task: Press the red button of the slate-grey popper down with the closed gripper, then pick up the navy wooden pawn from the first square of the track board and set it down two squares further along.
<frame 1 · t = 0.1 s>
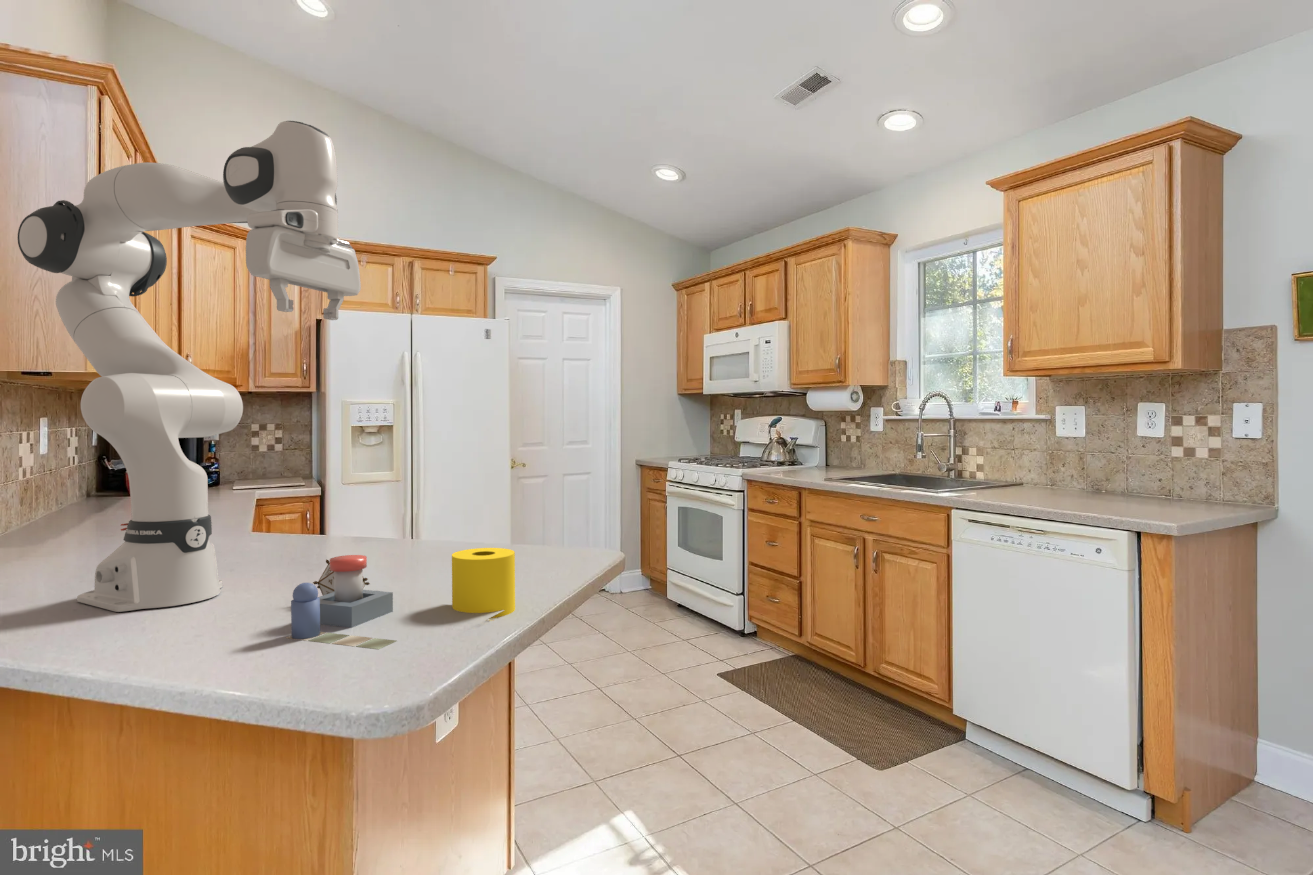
hand: (309, 315, 112), 48 cm above the counter, fingers open, 8 cm apart
plunger: (348, 580, 108), point 7 cm above the counter, slide at 0.0 cm
pawn: (306, 635, 99), point 1 cm above the counter, touching track board
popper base: (349, 622, 108), on the counter
yellow hollow cylinder: (484, 611, 115), on the counter
game die: (342, 607, 118), on the counter
track board: (340, 646, 97), on the counter
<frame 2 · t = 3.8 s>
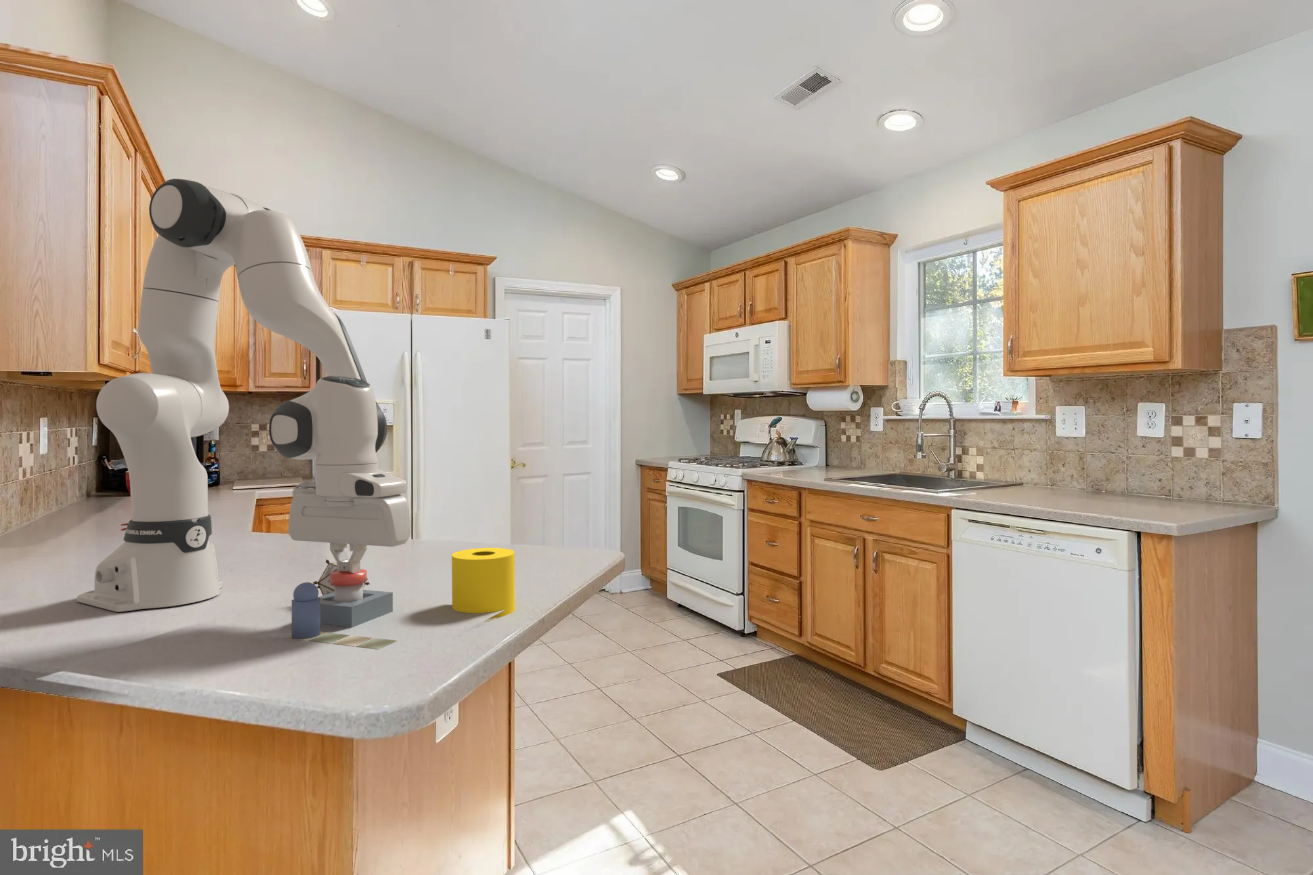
hand: (348, 572, 108), 8 cm above the counter, fingers closed, pressing on plunger
plunger: (348, 595, 108), point 4 cm above the counter, slide at 2.2 cm, touching gripper
everything else where it was.
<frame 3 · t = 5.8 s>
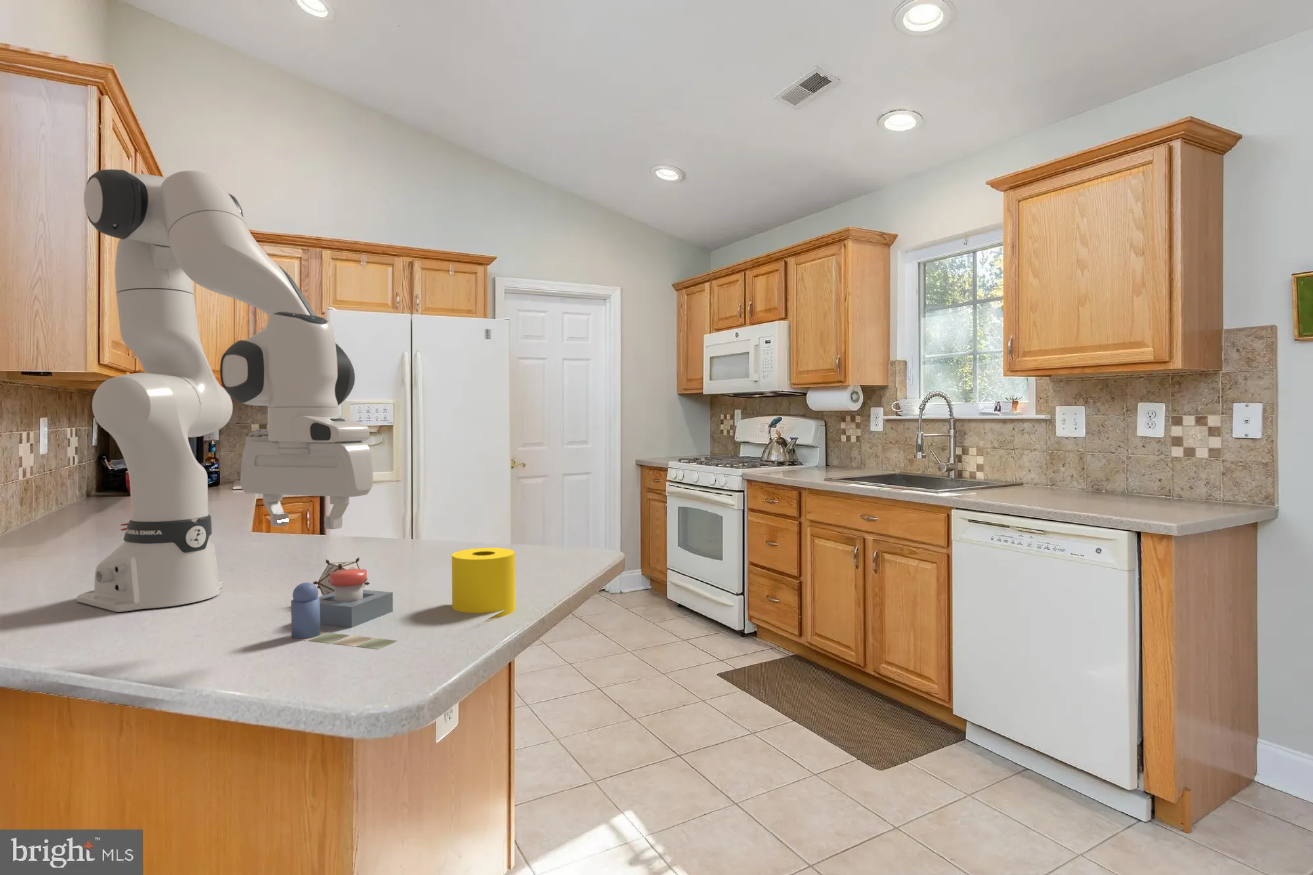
hand: (306, 527, 99), 16 cm above the counter, fingers open, 8 cm apart
plunger: (348, 595, 108), point 4 cm above the counter, slide at 2.2 cm
everything else where it was.
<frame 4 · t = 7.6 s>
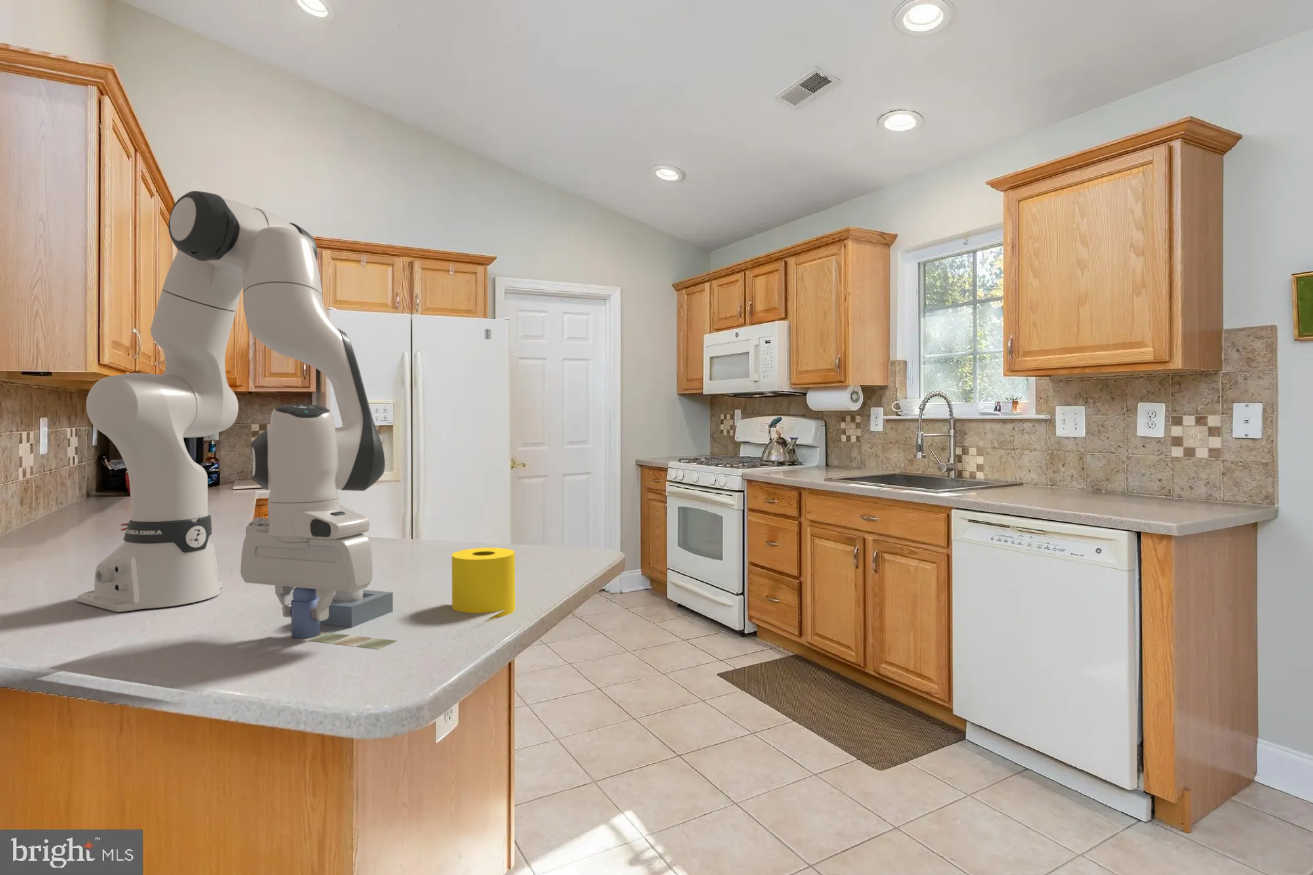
hand: (305, 618, 99), 3 cm above the counter, fingers closed on pawn, 4 cm apart
pawn: (306, 634, 99), point 1 cm above the counter, touching gripper, track board
everything else where it was.
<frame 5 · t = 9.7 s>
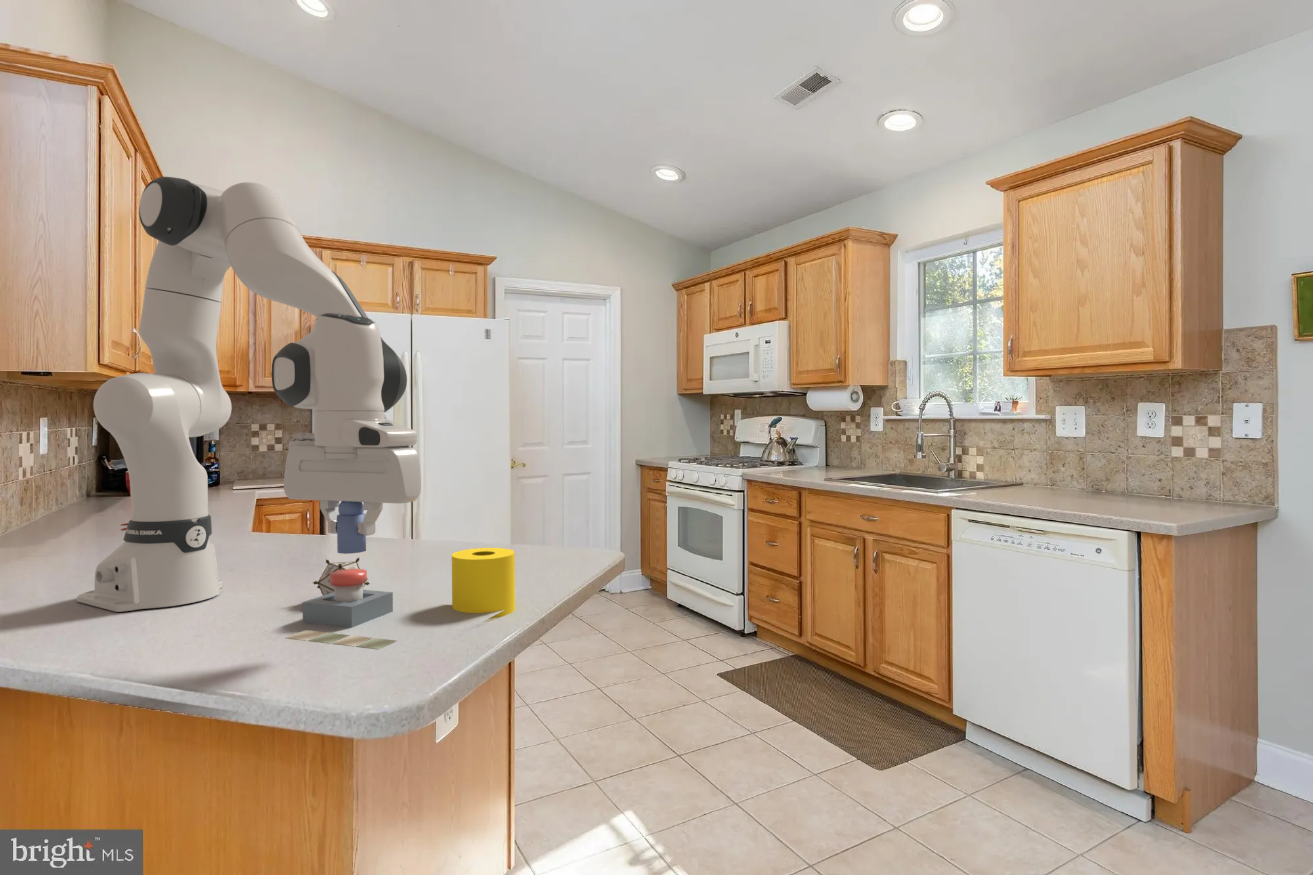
hand: (351, 534, 96), 16 cm above the counter, fingers closed on pawn, 4 cm apart
pawn: (351, 551, 96), point 13 cm above the counter, touching gripper
everything else where it was.
when the fingers open (5 cm above the counter, at t = 11.9 s): pawn drops 1 cm, resting on track board.
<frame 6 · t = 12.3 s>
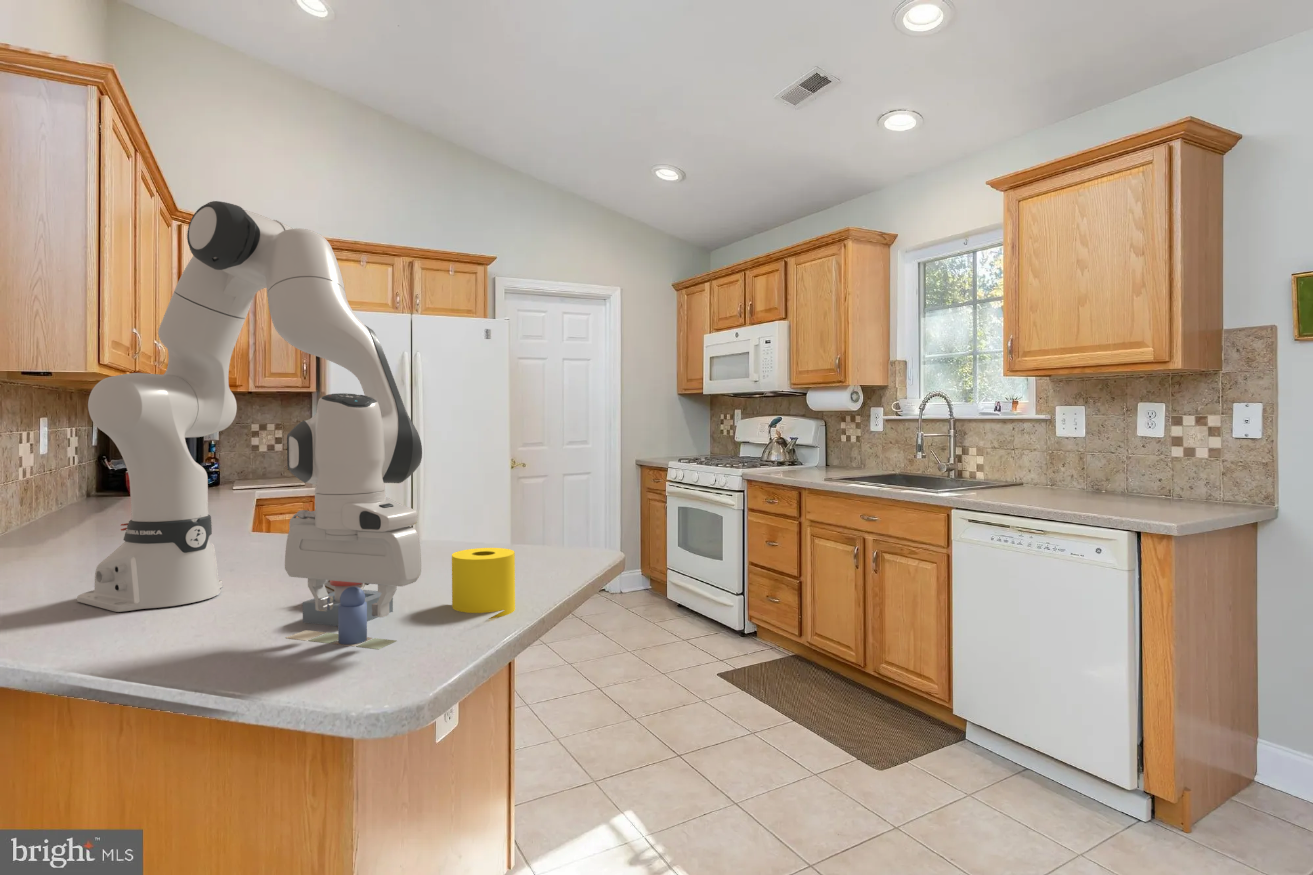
hand: (352, 613, 96), 5 cm above the counter, fingers open, 8 cm apart
pawn: (352, 640, 96), point 1 cm above the counter, touching track board
everything else where it was.
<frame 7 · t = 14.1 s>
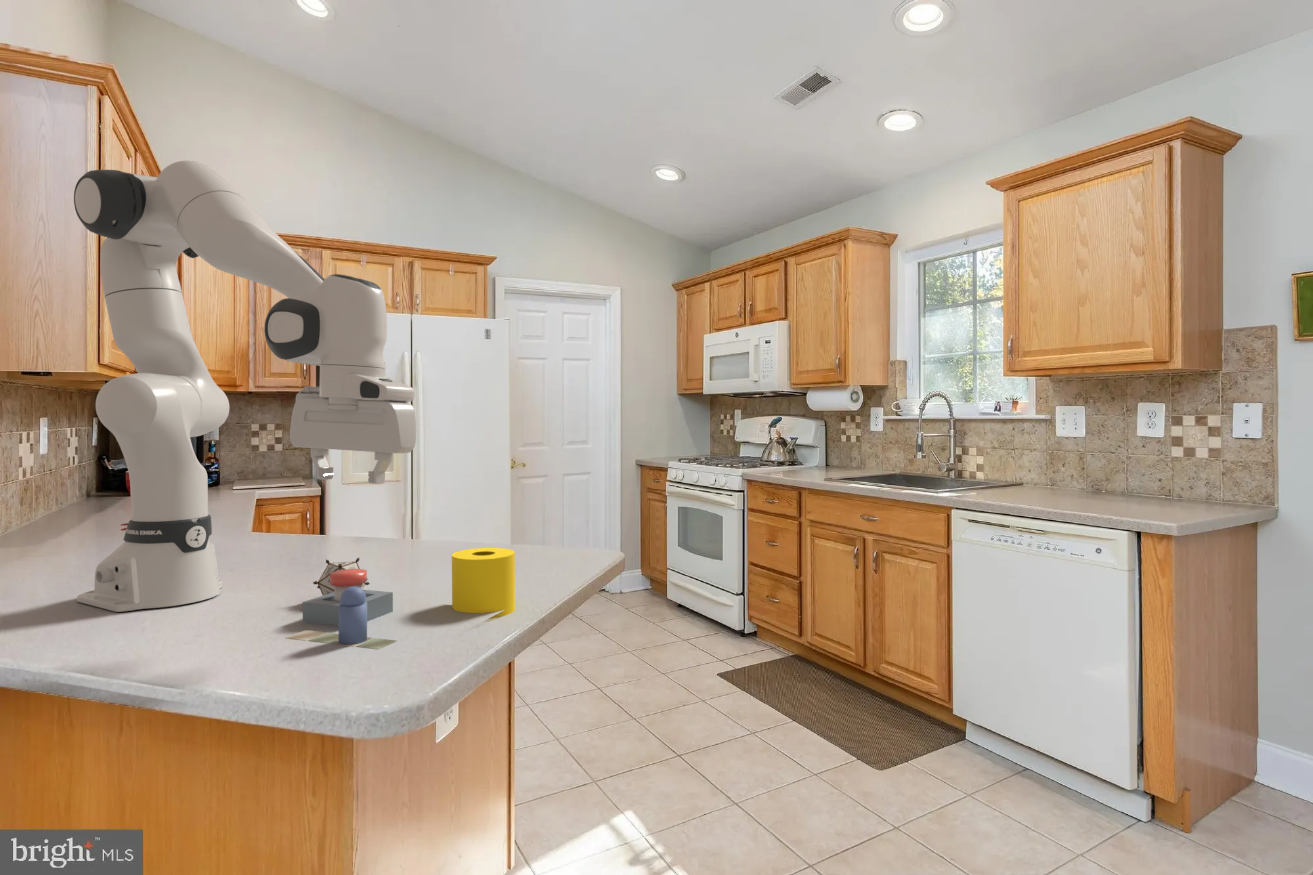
hand: (350, 481, 103), 22 cm above the counter, fingers open, 8 cm apart
nothing on the counter moved.
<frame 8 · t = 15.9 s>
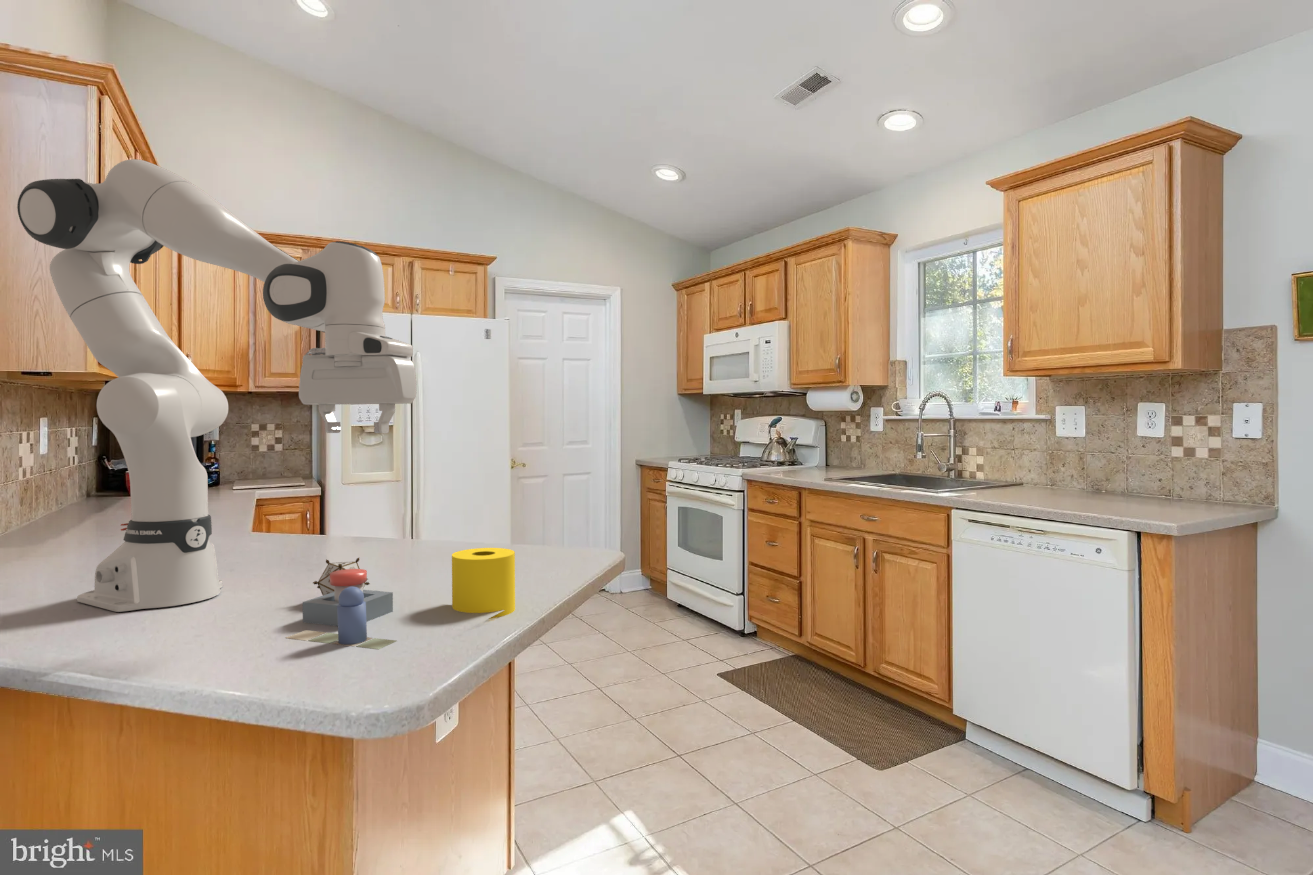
hand: (356, 433, 112), 29 cm above the counter, fingers open, 8 cm apart
nothing on the counter moved.
at the end: plunger slide at 2.2 cm; pawn 0.0 cm from the target spot, point 1.0 cm above the counter; pawn tilted 1° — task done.
